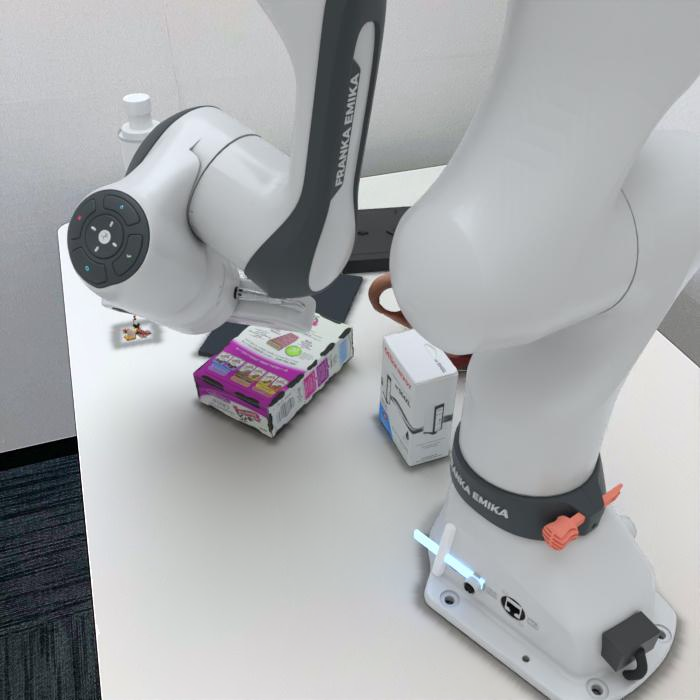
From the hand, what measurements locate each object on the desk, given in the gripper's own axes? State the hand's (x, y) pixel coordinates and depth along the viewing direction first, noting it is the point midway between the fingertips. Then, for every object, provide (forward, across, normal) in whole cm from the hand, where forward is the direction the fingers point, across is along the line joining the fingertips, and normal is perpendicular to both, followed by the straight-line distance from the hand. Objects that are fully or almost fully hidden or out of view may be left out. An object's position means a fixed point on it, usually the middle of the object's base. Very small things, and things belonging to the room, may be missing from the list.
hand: (238, 313), depth 82 cm
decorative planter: (+16, -22, -1) cm, 27 cm away
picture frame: (+34, -12, -19) cm, 41 cm away
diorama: (+12, +18, +3) cm, 22 cm away
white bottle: (+27, +24, -12) cm, 37 cm away
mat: (+18, 0, -3) cm, 18 cm away
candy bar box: (+1, -1, +10) cm, 11 cm away
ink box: (+5, -21, +10) cm, 24 cm away
